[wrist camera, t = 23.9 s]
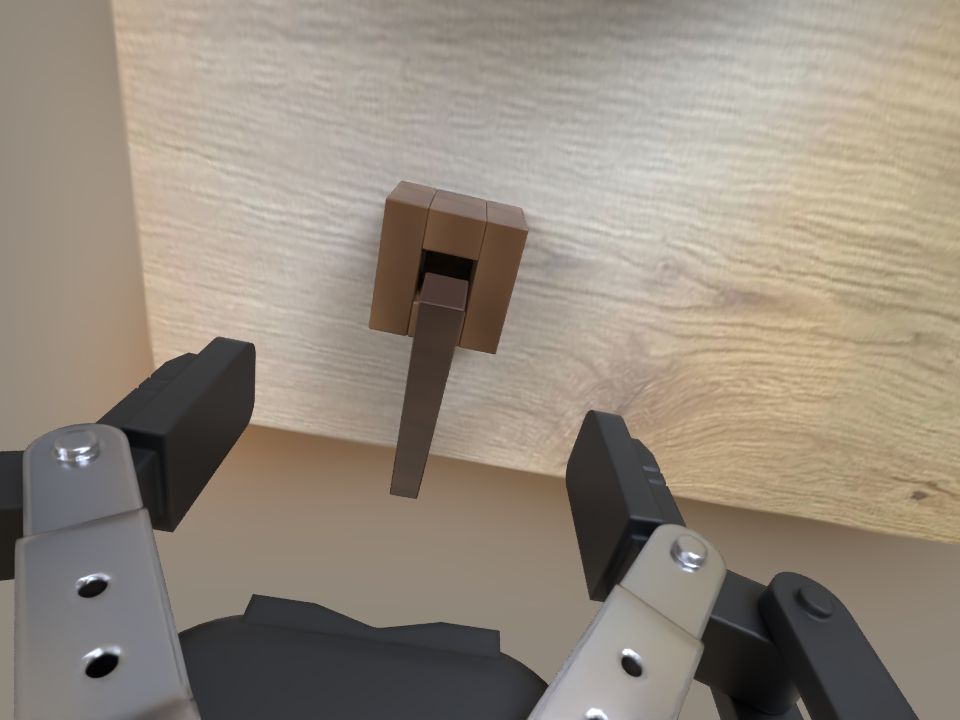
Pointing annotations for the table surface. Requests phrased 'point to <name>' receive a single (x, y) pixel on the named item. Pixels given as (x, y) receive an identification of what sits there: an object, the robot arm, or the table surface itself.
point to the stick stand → (454, 231)
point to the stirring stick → (427, 377)
